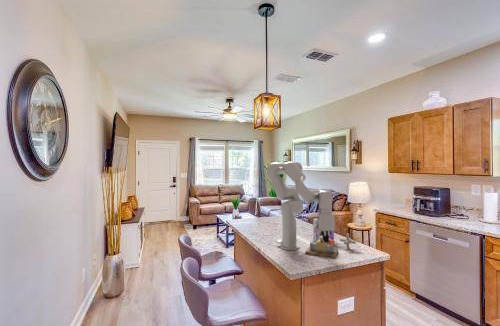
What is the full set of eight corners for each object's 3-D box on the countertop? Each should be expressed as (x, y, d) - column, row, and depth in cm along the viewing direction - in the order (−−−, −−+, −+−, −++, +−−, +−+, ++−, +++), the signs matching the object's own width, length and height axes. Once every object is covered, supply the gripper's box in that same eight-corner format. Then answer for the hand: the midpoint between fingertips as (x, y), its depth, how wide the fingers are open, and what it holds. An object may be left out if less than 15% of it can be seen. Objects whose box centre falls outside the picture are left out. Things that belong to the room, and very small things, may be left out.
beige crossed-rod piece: (343, 245, 176) (342, 231, 177) (357, 248, 170) (357, 233, 170) (337, 249, 169) (337, 234, 169) (353, 252, 162) (353, 236, 162)
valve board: (305, 254, 160) (305, 251, 160) (310, 248, 171) (310, 245, 171) (335, 258, 152) (335, 256, 152) (338, 252, 163) (338, 249, 163)
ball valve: (309, 251, 162) (309, 239, 162) (311, 248, 167) (311, 237, 167) (332, 254, 156) (332, 242, 156) (333, 251, 161) (333, 239, 161)
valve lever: (318, 239, 163) (318, 235, 163) (322, 239, 164) (322, 235, 164) (330, 245, 150) (330, 241, 150) (335, 245, 151) (335, 240, 151)
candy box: (316, 242, 183) (316, 219, 183) (313, 240, 189) (312, 218, 189) (334, 241, 186) (333, 219, 186) (330, 239, 191) (329, 217, 192)
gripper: (317, 212, 147) (317, 244, 147) (340, 211, 151) (340, 242, 150) (311, 210, 154) (311, 241, 154) (333, 209, 158) (333, 239, 158)
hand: (325, 241), depth 152 cm, fingers closed
